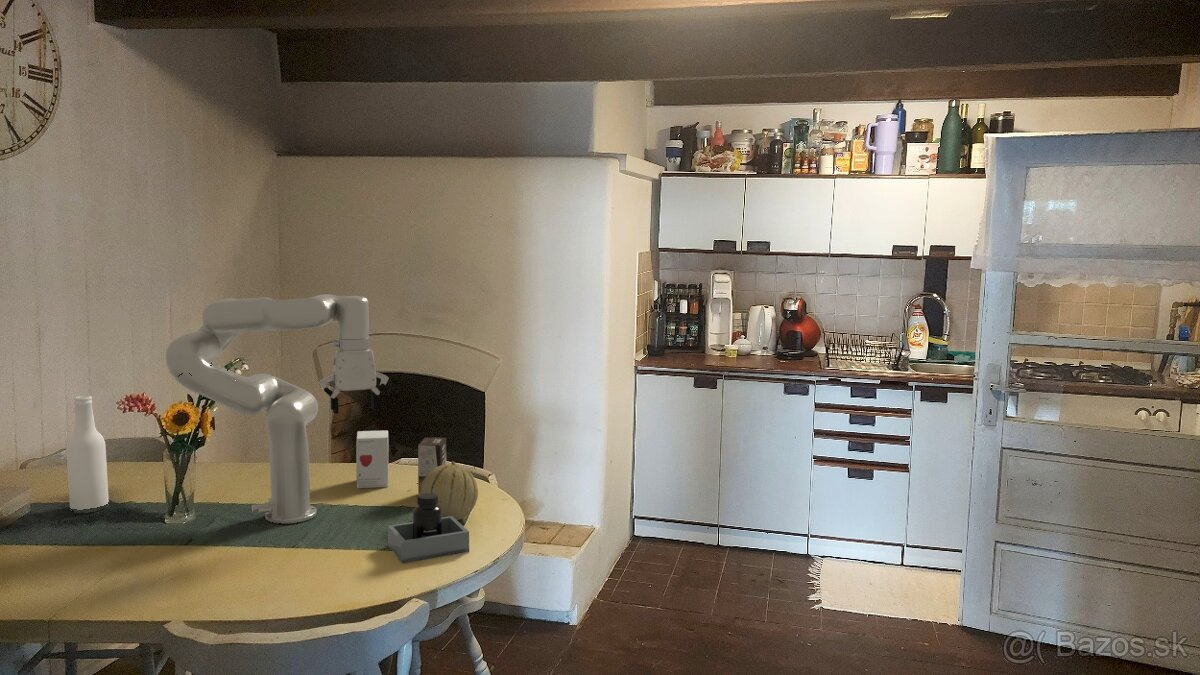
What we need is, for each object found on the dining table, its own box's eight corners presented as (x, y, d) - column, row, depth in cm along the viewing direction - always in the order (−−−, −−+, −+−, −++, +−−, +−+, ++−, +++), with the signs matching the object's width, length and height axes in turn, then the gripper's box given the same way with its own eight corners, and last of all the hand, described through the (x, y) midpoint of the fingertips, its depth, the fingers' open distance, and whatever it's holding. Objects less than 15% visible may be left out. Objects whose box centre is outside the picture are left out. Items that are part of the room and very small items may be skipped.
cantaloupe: (418, 530, 217) (418, 472, 215) (421, 511, 232) (421, 456, 229) (478, 528, 219) (478, 471, 217) (477, 509, 234) (477, 455, 232)
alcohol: (75, 504, 231) (68, 394, 227) (112, 502, 233) (106, 392, 229) (66, 515, 222) (58, 400, 218) (104, 512, 225) (98, 399, 221)
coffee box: (440, 502, 239) (440, 445, 237) (417, 501, 239) (417, 444, 237) (447, 492, 248) (447, 437, 246) (424, 491, 248) (424, 436, 246)
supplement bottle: (427, 552, 201) (427, 502, 199) (406, 545, 204) (406, 496, 203) (448, 543, 206) (448, 494, 205) (426, 537, 210) (426, 489, 208)
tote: (402, 563, 196) (402, 542, 196) (388, 545, 207) (387, 525, 206) (469, 552, 204) (469, 531, 203) (452, 535, 214) (452, 515, 214)
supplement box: (356, 489, 249) (355, 438, 247) (357, 479, 258) (356, 430, 256) (388, 487, 251) (388, 437, 249) (388, 478, 260) (388, 429, 258)
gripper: (321, 348, 212) (323, 417, 215) (391, 345, 221) (392, 411, 223) (315, 344, 219) (317, 410, 221) (383, 341, 227) (384, 405, 229)
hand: (354, 410), depth 222 cm, fingers open, 9 cm apart
